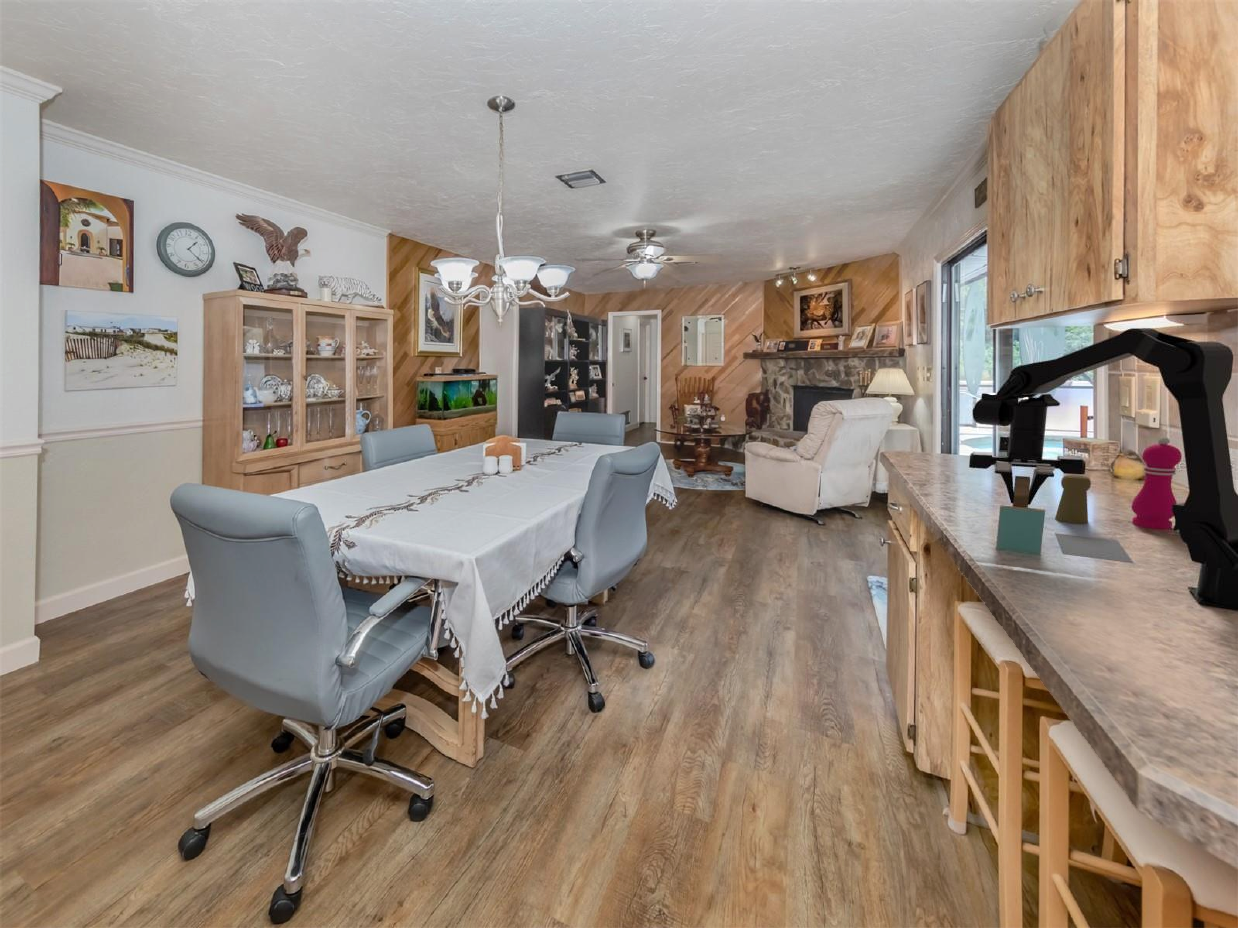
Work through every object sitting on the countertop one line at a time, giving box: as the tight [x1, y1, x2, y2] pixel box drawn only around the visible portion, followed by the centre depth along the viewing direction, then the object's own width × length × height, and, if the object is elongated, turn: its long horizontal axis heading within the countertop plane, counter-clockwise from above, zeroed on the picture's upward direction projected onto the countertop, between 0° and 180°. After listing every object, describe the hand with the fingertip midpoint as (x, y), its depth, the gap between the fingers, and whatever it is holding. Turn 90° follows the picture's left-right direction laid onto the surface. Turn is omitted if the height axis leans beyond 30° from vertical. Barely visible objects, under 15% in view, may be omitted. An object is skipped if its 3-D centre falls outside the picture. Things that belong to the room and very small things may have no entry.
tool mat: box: [1054, 532, 1134, 564], centre depth 108 cm, size 15×10×1 cm, turn 146°
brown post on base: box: [1002, 475, 1039, 509], centre depth 111 cm, size 9×6×7 cm, turn 146°
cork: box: [1054, 474, 1092, 525], centre depth 125 cm, size 6×6×11 cm
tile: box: [995, 504, 1046, 555], centre depth 106 cm, size 1×7×9 cm, turn 56°
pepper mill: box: [1131, 436, 1182, 531], centre depth 119 cm, size 7×7×20 cm
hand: (1020, 503), depth 113 cm, fingers closed on brown post on base, 2 cm apart
